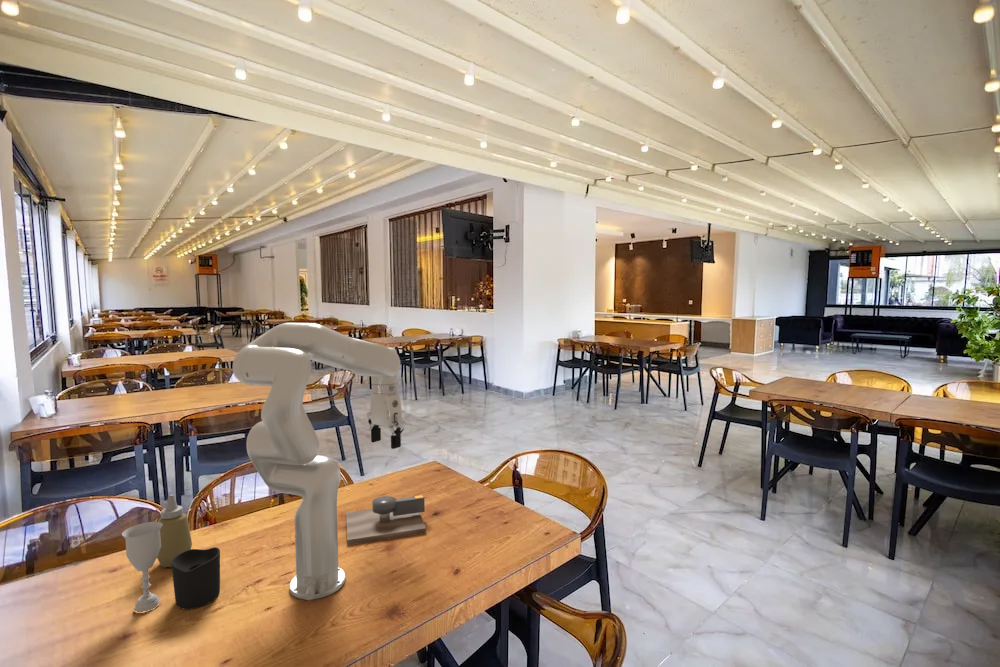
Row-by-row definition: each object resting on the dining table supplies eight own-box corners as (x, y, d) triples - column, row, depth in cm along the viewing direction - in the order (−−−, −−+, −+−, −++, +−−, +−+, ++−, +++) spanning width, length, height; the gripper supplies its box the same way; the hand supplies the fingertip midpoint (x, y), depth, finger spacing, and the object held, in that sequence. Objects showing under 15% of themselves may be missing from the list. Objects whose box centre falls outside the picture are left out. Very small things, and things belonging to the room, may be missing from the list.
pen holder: (208, 581, 118) (206, 542, 117) (230, 593, 113) (228, 552, 112) (165, 602, 110) (163, 560, 109) (187, 616, 105) (185, 572, 104)
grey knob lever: (425, 515, 147) (425, 500, 147) (373, 522, 142) (373, 507, 142) (422, 505, 154) (422, 491, 154) (371, 512, 149) (371, 497, 149)
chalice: (161, 592, 113) (157, 518, 112) (171, 604, 109) (167, 527, 108) (122, 608, 108) (117, 530, 106) (131, 621, 103) (126, 540, 102)
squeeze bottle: (198, 559, 128) (195, 493, 126) (164, 574, 121) (160, 504, 119) (183, 551, 132) (180, 486, 131) (149, 564, 125) (145, 497, 124)
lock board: (425, 533, 142) (425, 517, 142) (347, 545, 135) (346, 528, 135) (416, 507, 159) (416, 493, 159) (346, 517, 152) (346, 502, 152)
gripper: (413, 390, 142) (414, 447, 144) (377, 383, 153) (378, 436, 155) (392, 394, 137) (393, 453, 138) (357, 386, 148) (358, 441, 149)
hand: (385, 444), depth 146 cm, fingers open, 9 cm apart
